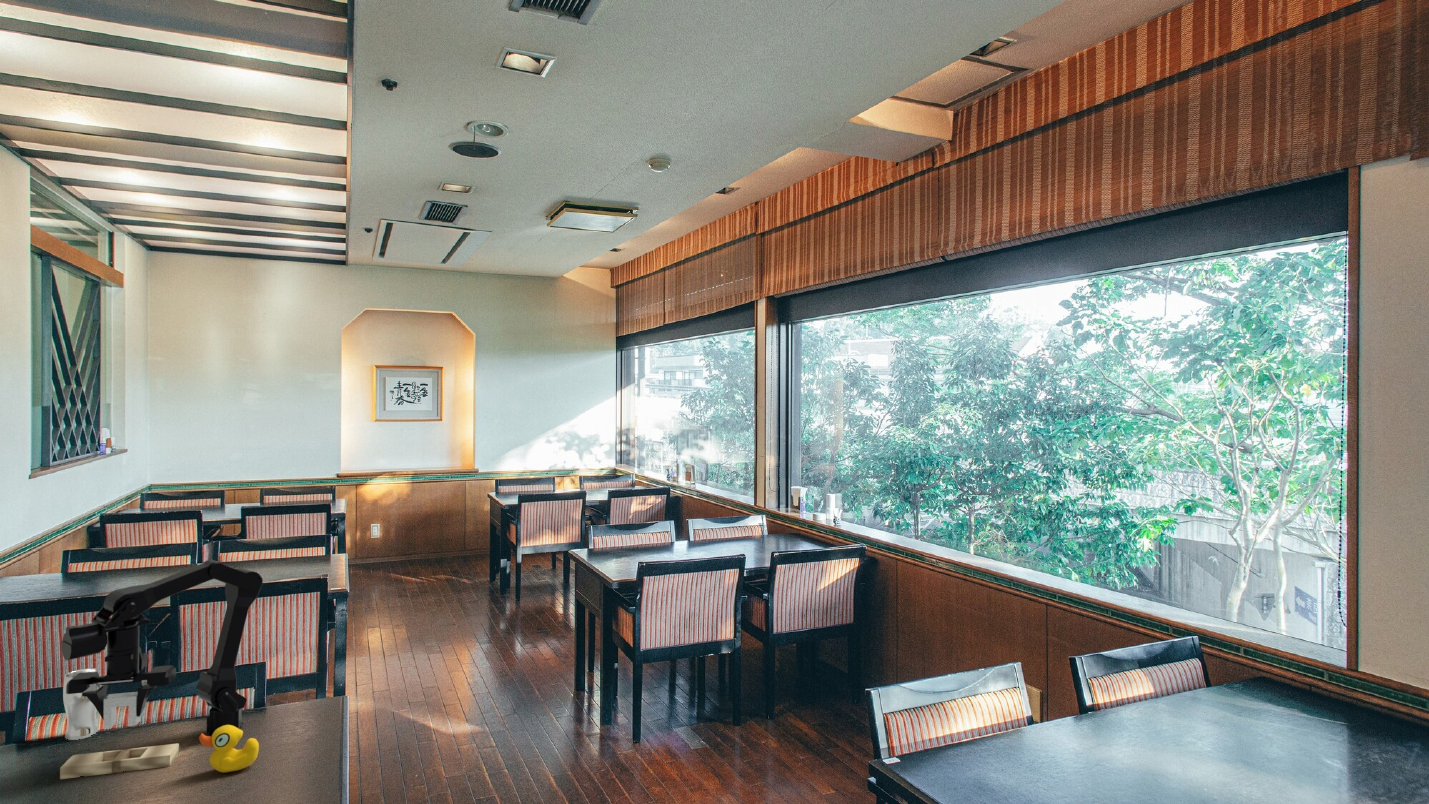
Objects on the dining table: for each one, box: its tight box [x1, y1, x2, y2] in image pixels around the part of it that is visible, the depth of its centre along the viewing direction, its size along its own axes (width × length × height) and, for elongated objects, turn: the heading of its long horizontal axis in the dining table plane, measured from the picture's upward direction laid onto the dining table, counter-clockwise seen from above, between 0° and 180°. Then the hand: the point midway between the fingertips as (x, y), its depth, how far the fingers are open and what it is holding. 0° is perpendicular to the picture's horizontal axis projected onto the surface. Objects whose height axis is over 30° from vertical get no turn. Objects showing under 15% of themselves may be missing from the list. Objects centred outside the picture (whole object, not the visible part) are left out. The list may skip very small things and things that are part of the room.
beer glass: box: [62, 667, 101, 741], centre depth 186 cm, size 7×7×15 cm
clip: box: [103, 691, 142, 730], centre depth 171 cm, size 6×3×6 cm, turn 109°
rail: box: [59, 742, 180, 780], centre depth 171 cm, size 20×6×2 cm, turn 109°
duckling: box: [198, 725, 260, 774], centre depth 170 cm, size 11×5×10 cm, turn 111°
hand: (122, 717), depth 171 cm, fingers closed on clip, 6 cm apart
